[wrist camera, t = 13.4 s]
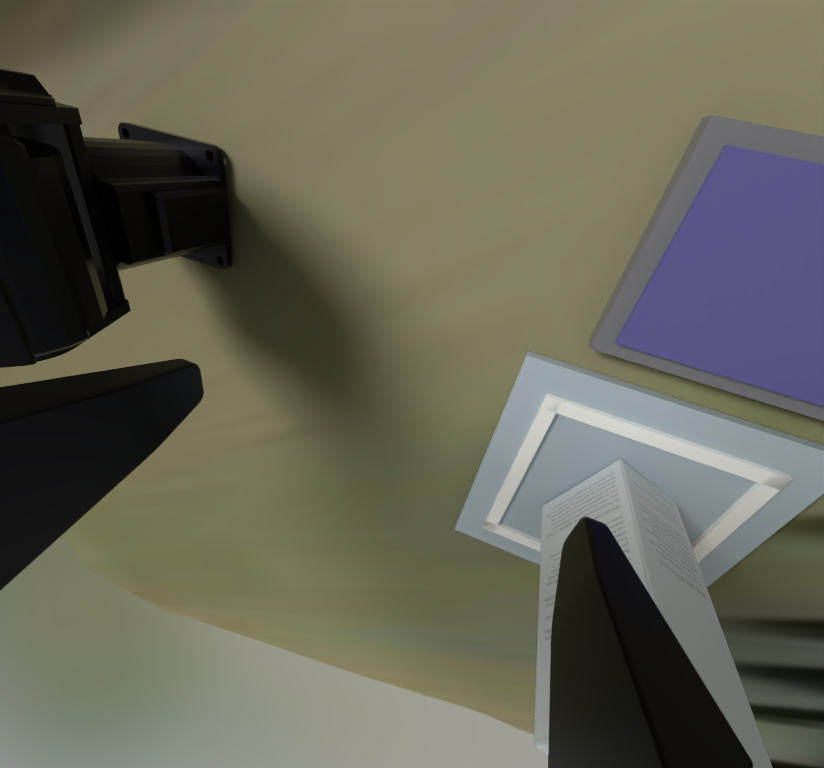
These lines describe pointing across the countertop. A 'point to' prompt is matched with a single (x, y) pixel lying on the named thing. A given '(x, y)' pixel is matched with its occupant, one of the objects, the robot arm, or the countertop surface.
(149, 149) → the robot arm
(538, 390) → the board
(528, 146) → the countertop surface
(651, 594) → the skincare box
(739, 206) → the ink pad
